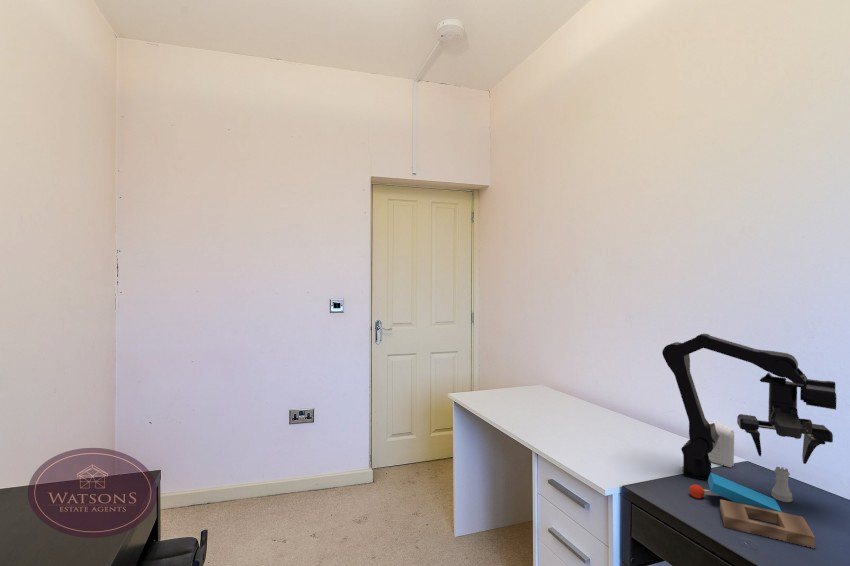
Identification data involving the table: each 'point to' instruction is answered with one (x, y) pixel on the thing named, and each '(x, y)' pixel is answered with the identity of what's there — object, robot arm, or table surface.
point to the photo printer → (723, 446)
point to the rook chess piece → (781, 486)
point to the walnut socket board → (788, 528)
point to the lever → (734, 493)
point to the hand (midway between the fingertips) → (781, 459)
